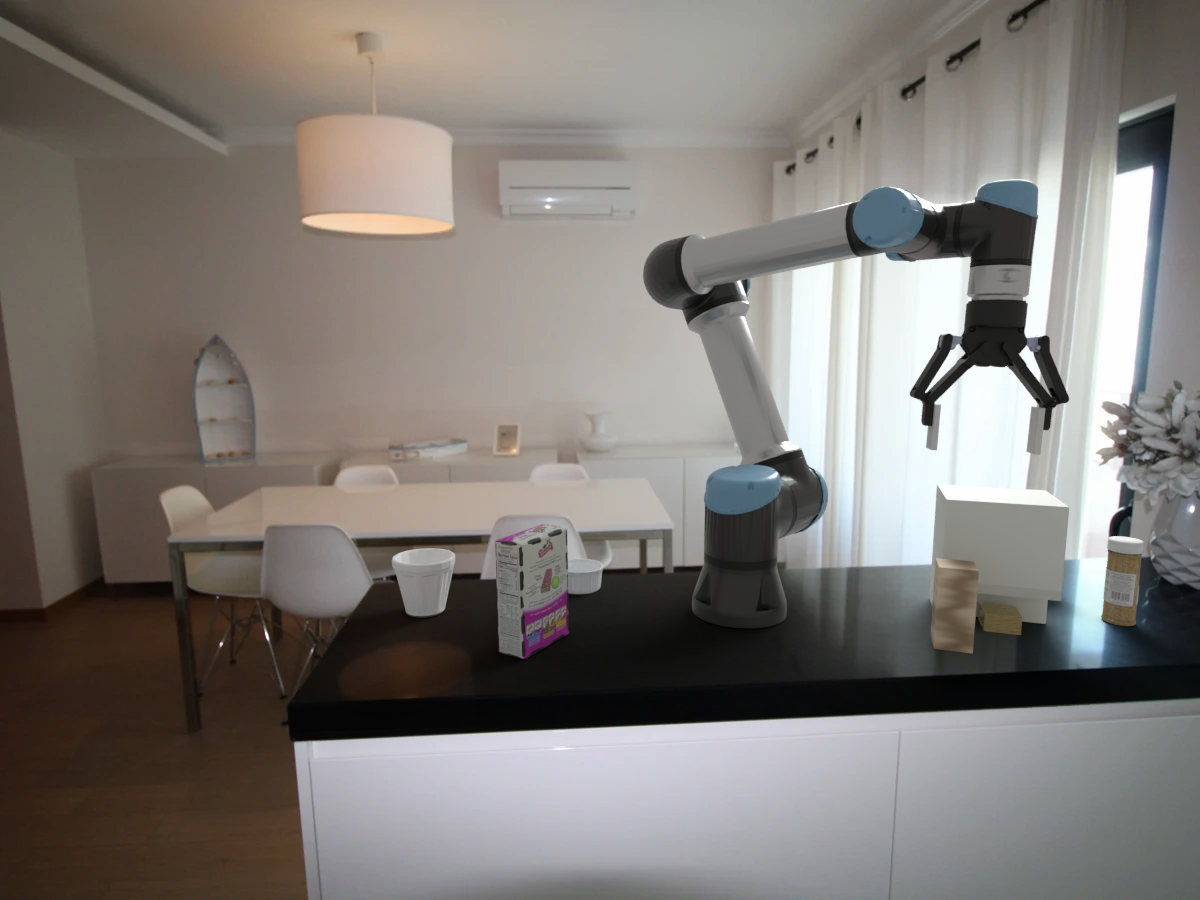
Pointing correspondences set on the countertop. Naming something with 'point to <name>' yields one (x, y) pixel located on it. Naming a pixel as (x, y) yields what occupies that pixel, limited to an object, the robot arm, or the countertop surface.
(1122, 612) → the sprinkles bottle
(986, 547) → the cabinet
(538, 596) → the candy bar box
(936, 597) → the wooden rectangular block
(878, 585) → the countertop surface
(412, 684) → the countertop surface
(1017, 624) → the small wooden block
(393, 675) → the countertop surface
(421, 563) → the cup
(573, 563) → the ramekin
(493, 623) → the countertop surface
